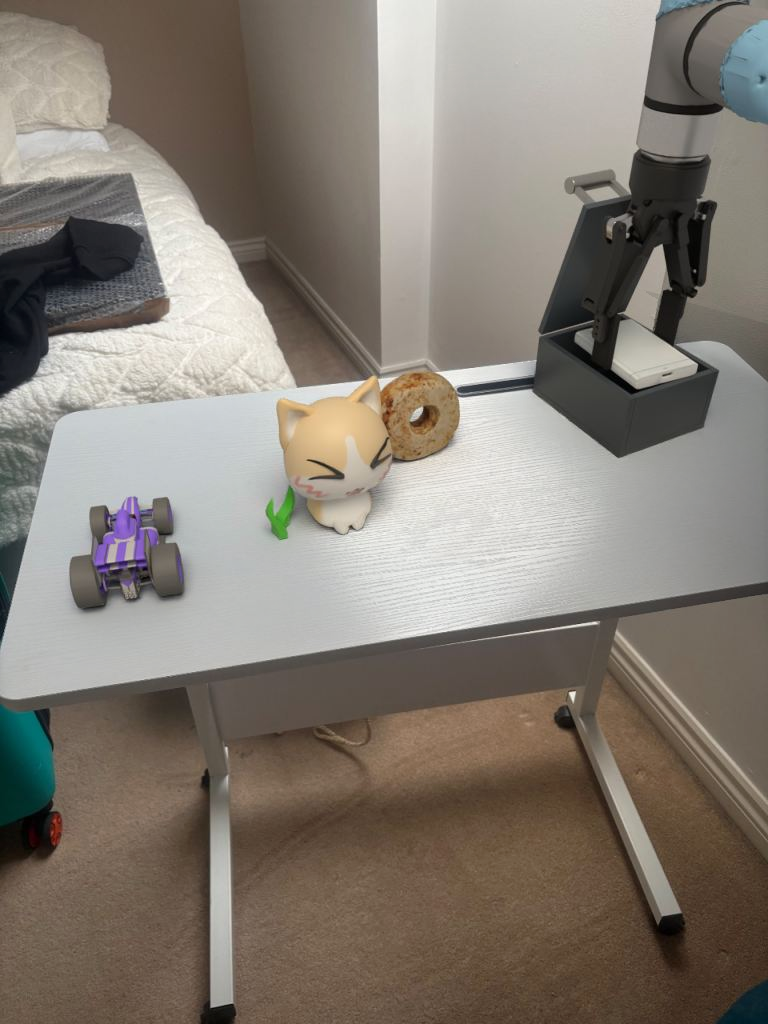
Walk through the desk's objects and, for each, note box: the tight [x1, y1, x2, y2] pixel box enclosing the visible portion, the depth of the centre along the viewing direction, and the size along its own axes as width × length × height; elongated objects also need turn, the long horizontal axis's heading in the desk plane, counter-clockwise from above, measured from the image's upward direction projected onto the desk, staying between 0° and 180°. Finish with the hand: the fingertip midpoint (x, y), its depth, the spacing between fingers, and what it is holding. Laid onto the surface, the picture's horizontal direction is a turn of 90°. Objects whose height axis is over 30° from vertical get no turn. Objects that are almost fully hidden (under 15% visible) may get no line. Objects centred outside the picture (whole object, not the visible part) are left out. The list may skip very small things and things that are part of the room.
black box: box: [532, 312, 720, 459], centre depth 100 cm, size 17×13×8 cm
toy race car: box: [68, 495, 185, 609], centre depth 80 cm, size 10×15×6 cm, turn 12°
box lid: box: [537, 168, 655, 336], centre depth 98 cm, size 18×13×8 cm
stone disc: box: [380, 370, 461, 461], centre depth 93 cm, size 10×4×10 cm, turn 116°
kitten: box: [264, 375, 393, 540], centre depth 82 cm, size 15×10×15 cm
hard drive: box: [574, 318, 698, 389], centre depth 97 cm, size 2×8×12 cm
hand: (632, 354), depth 97 cm, fingers closed on hard drive, 9 cm apart
